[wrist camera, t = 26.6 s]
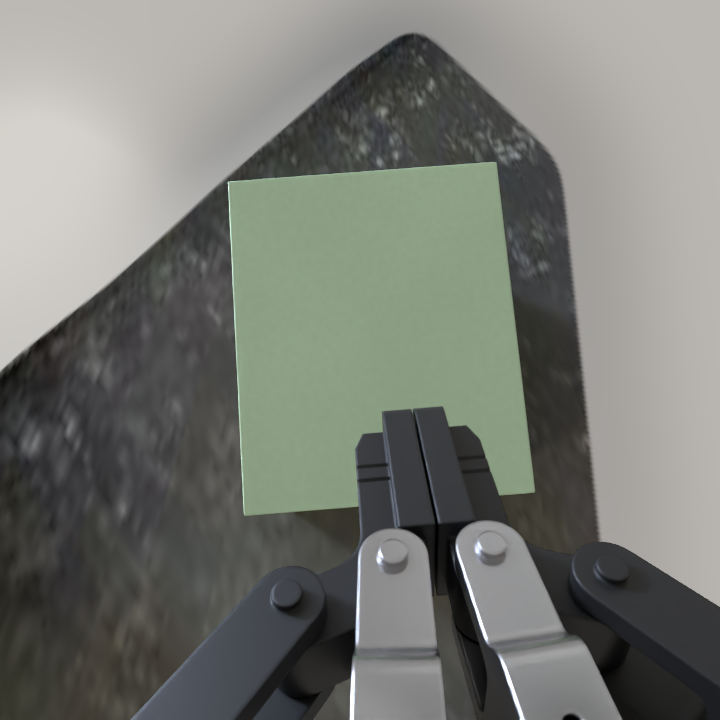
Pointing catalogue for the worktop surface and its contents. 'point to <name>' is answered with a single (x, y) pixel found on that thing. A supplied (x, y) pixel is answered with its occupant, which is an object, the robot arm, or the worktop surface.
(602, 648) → the robot arm
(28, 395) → the worktop surface
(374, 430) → the lid
